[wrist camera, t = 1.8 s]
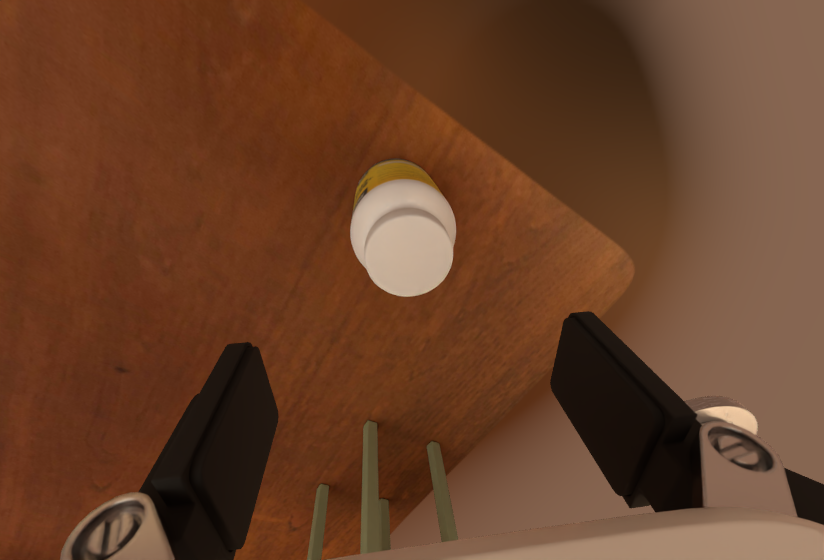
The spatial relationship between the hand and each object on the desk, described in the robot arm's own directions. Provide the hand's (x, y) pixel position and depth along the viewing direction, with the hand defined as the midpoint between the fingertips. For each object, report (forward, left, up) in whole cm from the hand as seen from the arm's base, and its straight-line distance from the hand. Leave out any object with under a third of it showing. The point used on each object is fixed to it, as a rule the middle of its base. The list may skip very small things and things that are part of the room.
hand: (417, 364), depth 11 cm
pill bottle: (-1, 0, -20) cm, 20 cm away
